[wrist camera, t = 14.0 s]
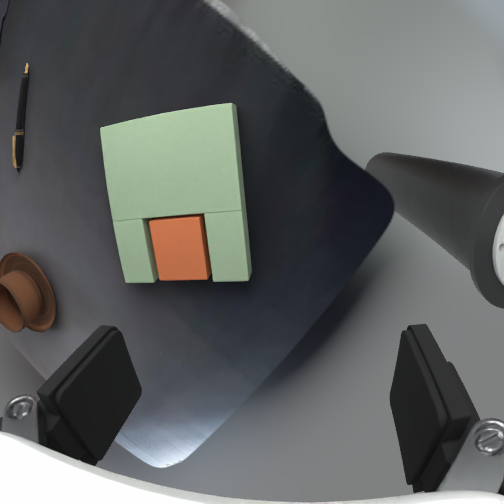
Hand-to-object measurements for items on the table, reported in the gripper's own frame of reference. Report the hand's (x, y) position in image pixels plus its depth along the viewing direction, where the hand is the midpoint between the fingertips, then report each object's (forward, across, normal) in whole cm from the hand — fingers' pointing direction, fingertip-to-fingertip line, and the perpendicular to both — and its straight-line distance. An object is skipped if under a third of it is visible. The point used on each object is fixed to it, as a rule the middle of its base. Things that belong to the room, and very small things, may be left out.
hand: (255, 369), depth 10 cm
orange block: (+21, +10, +2) cm, 24 cm away
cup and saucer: (+20, +36, +7) cm, 42 cm away
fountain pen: (+21, +30, -16) cm, 40 cm away
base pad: (+21, +10, -3) cm, 24 cm away
